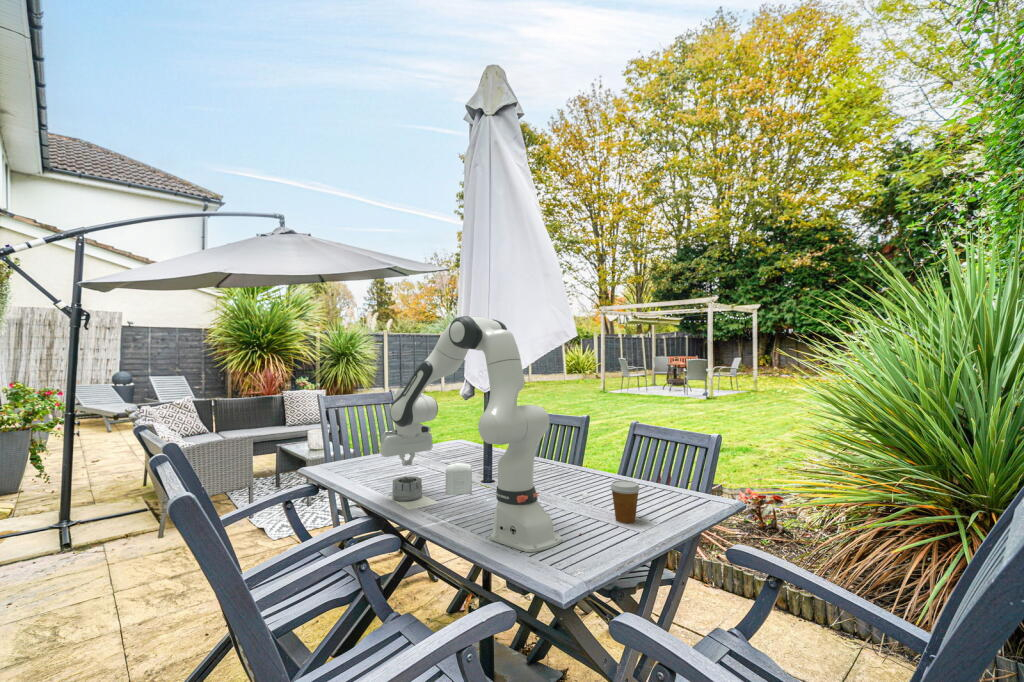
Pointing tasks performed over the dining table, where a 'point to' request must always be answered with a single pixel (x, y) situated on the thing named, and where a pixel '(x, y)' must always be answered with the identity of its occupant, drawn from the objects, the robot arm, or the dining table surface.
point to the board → (416, 502)
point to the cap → (407, 479)
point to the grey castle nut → (407, 490)
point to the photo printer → (459, 479)
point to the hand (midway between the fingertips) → (407, 465)
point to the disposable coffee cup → (625, 500)
